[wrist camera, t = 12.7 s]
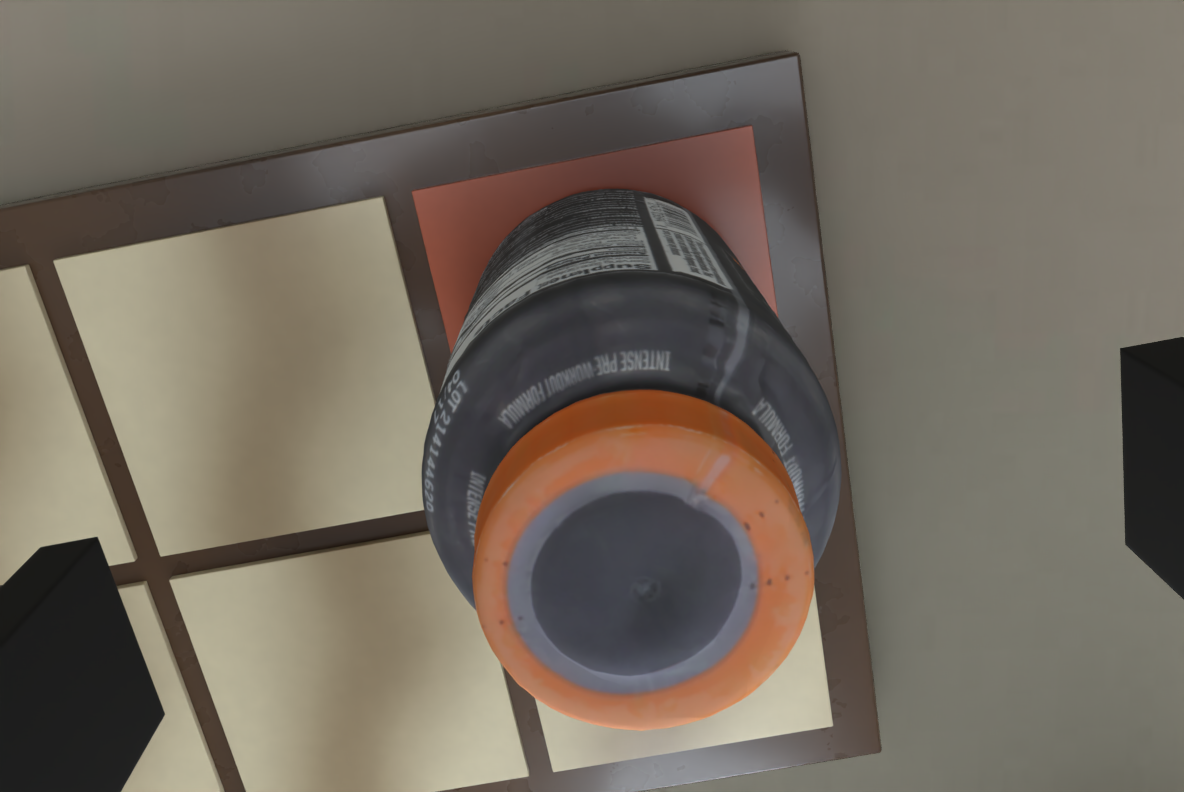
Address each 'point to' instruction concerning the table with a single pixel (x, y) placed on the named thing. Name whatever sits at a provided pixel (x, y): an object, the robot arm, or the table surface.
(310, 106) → the table surface
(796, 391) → the pill bottle
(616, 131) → the grid board
